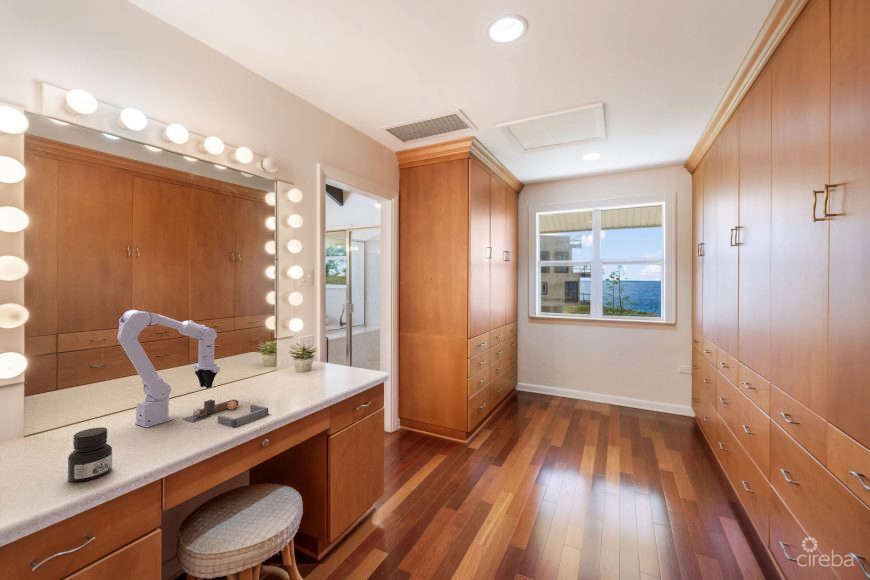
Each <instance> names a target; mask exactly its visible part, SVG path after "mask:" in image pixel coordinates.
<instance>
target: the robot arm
mask: <svg viewBox="0 0 870 580" xmlns="http://www.w3.org/2000/svg"><path fill="white" fill-rule="evenodd" d="M118 323H119V324H118V325H119V327H118V332H117V336H116V337H117V338H116V339H117V341H118V343H119V344H120V346H121V348H122V349H123V350H124V352H125V354H126V356H127V357H128V358H129V360H130V362H131V363H132V366H133V367H134V369H135V370H136V372H137V374H138V376H139V377H140V379H141V383H142V385H143V393H144V394H146V395H145V398H144V400H143V401H141V402H139V403H137V405H136V409H135V411H136V413H135V414H136V417H135V419H136V420H135V423H134V424H135V425H138V426H141V427H144V428H149V427H154V426H156V425H160V424H162V423H166V422H169V421H173V420H175V418H174V417H172V416H169V414H170V413H169V412H170V409H169V408H170V407H169V404H170V403H169V401H170V394H171V392H172V387H171V385H170V384H169V383H167V382H166V381H164V380H163V378H162V376H160V375H159V373H158V372H157V370H156V368H155V367H154V365H153V364H152V362H151V360H150V358H149V357H148V355H147V353H146V351H145V349H144V348H143V346H142V345H141V342H139V340H138V337H139V336H140V334H141V332H142V331H143V330H145V328H146V327H148V326H149V325H150V326H154V325H161V326H164V327H168V328H171V329H175V330H177V331H178V333H179V334H180V335H183V336H186V337H190V338H194V339H197V340H198V354H197V355H198V361H197V362H198V363H194V364H193V370H195V371H194V374H195V376H197V379H198V382H199V387H200V388H204V387H205V389H210V388H212V387H213V385H214V384H213V383H214V380H215V378H216V376H217V374H218V373H219V372H220V367H219V366H217V364H216V363H215V341H216V338H217V337H218V333H217V330H215V328H213V327H207V326H206V324H199V323H196V322H195V321H194V320H191V319H190V320H184V321H179V320H176V319H173V318H170V317H167V316H165V315H161V314H159V313H153V312H147V311H143V310H137V309H130V310H126V311H125V312H124V313H123V314H122V316H121V317H120V318H119V320H118Z"/></svg>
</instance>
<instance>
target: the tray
mask: <svg viewBox="0 0 870 580" xmlns="http://www.w3.org/2000/svg"><path fill="white" fill-rule="evenodd" d="M266 416H269V408H268V407H265V406H260V405H256V404H251V405H250V413H248V414H247V413H246V414H245V415H241V416H238V417H236V418H233V417H230V416H225V415H222V414H221V415H217V424H219V425H222V426H225V427H226V426H227V427H229V428H233V429H234V428H236V427H240V426H242V425H245V424H248V423H251V422H252V421H256V420H259V419H261V418H263V417H266Z"/></svg>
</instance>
